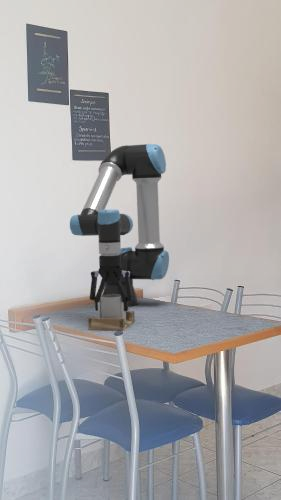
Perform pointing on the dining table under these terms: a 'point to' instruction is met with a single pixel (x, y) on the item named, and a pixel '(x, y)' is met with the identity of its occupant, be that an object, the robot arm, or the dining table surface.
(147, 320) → the dining table surface
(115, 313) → the cup
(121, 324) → the caddy
